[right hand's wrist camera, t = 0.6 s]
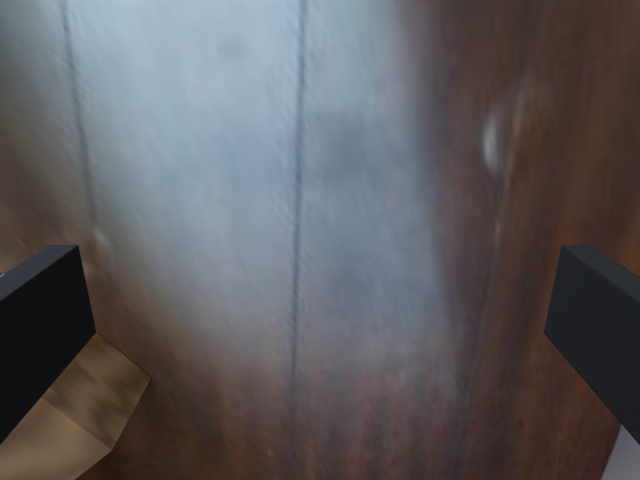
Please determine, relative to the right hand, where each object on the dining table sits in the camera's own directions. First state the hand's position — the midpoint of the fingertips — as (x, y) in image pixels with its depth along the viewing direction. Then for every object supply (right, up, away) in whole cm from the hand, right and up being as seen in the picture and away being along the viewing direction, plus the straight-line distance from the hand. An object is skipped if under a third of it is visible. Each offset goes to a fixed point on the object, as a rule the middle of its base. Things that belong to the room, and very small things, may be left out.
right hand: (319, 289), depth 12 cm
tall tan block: (-26, -11, +33) cm, 43 cm away
